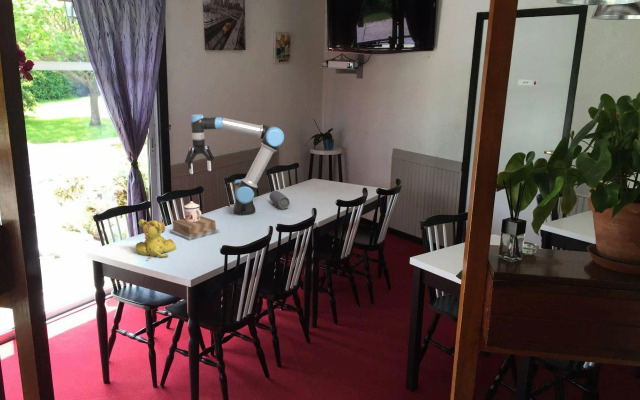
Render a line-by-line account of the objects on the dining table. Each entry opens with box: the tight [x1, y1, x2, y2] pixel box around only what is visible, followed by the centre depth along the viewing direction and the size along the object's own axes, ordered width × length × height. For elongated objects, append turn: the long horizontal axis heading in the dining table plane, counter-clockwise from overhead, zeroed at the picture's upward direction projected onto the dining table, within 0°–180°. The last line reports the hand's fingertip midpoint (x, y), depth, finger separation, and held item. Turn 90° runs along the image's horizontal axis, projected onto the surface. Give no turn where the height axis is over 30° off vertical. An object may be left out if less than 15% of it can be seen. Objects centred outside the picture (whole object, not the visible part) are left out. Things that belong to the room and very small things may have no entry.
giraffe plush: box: [135, 218, 177, 262], centre depth 277 cm, size 20×24×19 cm
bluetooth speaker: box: [268, 190, 291, 210], centre depth 373 cm, size 23×9×10 cm, turn 22°
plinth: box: [169, 215, 220, 242], centre depth 313 cm, size 21×21×8 cm
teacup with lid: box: [183, 201, 202, 222], centre depth 311 cm, size 12×9×12 cm
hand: (200, 172), depth 334 cm, fingers open, 13 cm apart
